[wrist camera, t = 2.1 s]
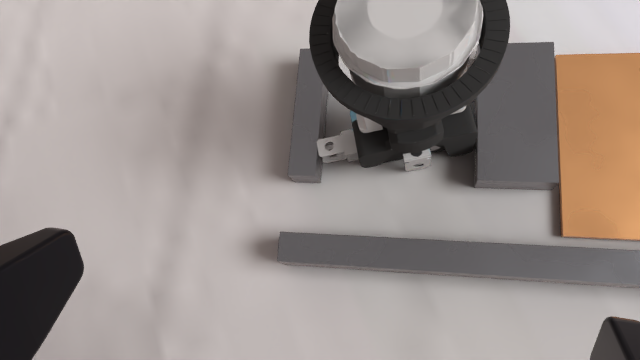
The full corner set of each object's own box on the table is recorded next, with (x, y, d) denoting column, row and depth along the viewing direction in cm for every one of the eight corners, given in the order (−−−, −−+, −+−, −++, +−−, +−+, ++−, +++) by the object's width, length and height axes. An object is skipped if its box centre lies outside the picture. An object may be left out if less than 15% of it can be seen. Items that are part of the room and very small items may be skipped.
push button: (333, 214, 22) (265, 137, 12) (315, 104, 23) (242, -40, 14) (488, 183, 21) (544, 74, 11) (458, 70, 22) (485, -108, 13)
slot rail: (286, 264, 22) (277, 261, 20) (306, 61, 24) (298, 45, 23) (790, 298, 18) (822, 296, 16) (754, 51, 20) (779, 31, 19)
